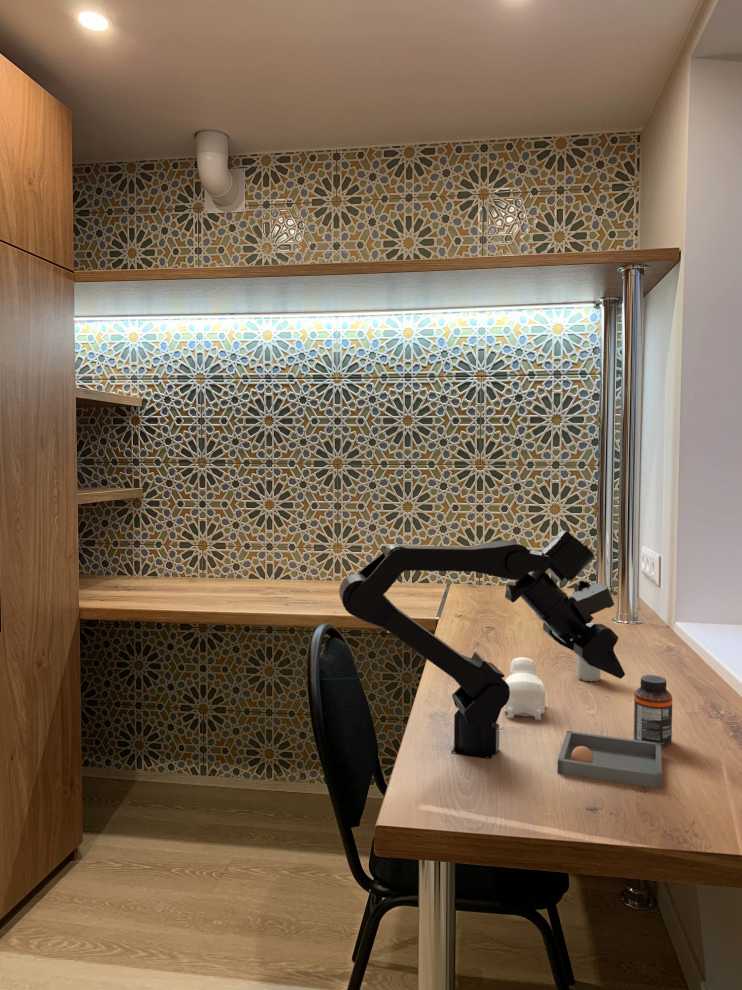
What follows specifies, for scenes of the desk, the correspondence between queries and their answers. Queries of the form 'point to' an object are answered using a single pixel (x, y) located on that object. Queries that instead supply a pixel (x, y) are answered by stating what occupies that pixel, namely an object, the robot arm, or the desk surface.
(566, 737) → the tray
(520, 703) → the white low-poly figurine
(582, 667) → the beverage can
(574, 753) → the ball
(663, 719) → the supplement bottle
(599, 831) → the desk surface
